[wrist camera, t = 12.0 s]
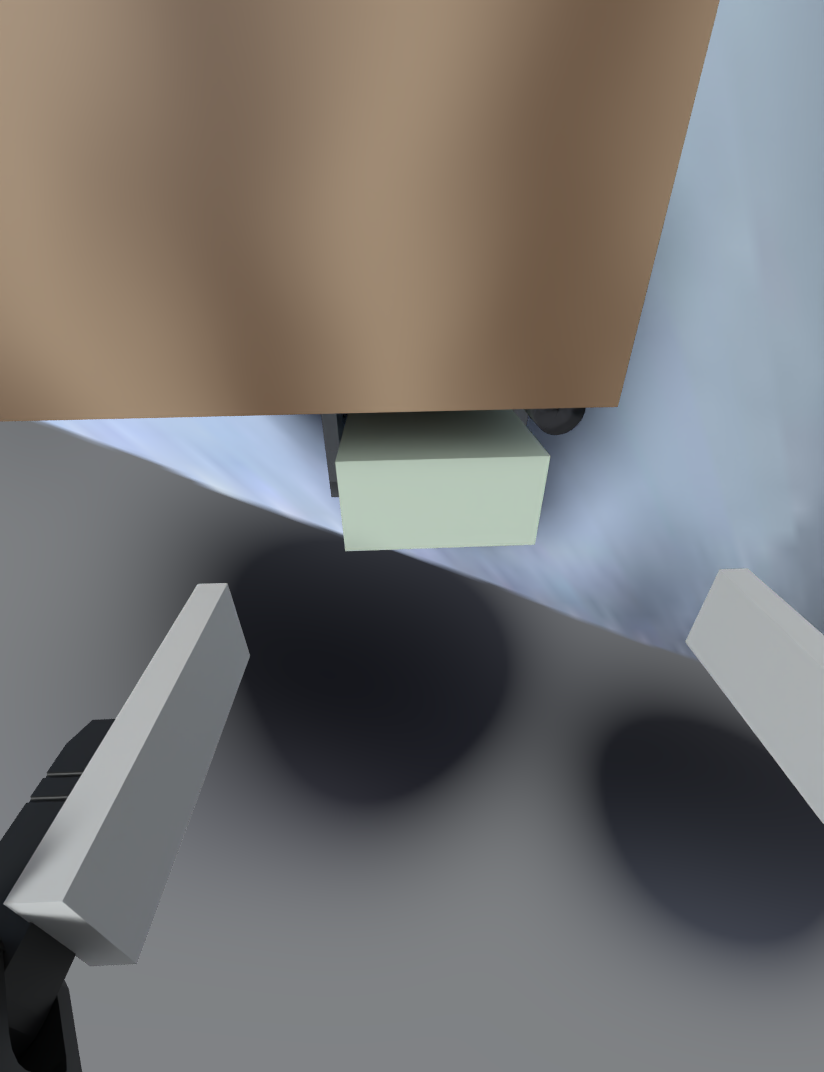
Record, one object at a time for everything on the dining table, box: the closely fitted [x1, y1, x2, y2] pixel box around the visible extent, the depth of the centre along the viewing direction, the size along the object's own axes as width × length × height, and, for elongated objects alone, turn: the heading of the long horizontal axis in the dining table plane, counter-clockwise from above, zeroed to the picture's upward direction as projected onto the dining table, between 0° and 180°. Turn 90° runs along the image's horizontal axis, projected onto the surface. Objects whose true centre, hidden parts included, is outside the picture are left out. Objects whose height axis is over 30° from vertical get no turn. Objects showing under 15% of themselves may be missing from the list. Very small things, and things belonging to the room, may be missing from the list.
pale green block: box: [335, 409, 550, 551], centre depth 22 cm, size 8×5×11 cm, turn 91°
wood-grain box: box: [0, 0, 719, 421], centre depth 14 cm, size 16×12×15 cm
